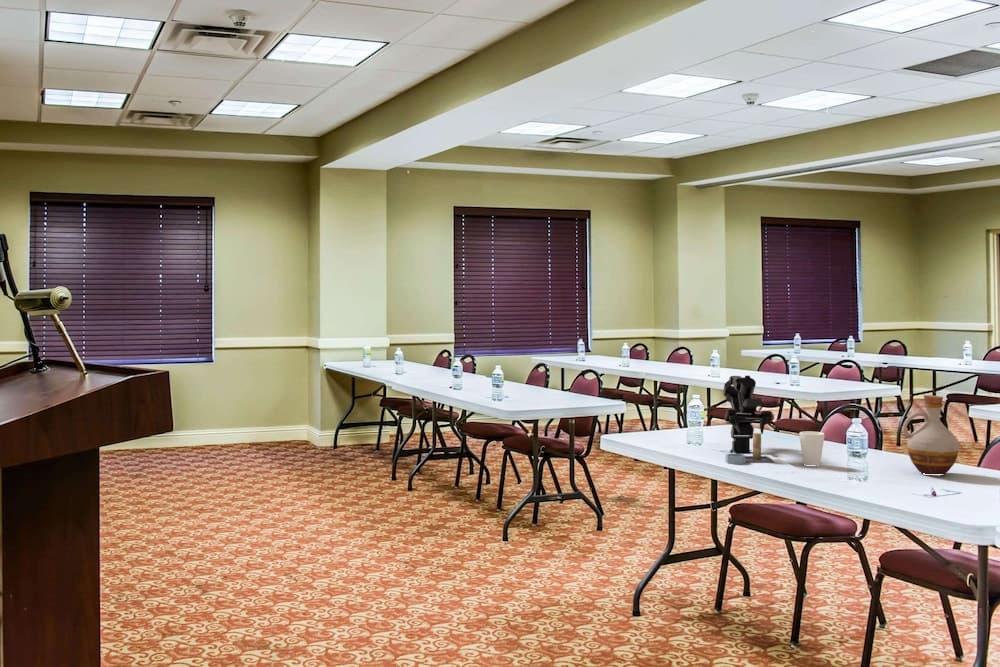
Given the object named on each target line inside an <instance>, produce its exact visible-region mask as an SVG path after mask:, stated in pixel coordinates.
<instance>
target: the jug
mask: <svg viewBox="0 0 1000 667" xmlns="http://www.w3.org/2000/svg"><path fill="white" fill-rule="evenodd" d="M943 399H944V396H940V395H931V394H923V400H924V402H923V407H924V408H925V412H924V411H915V412H914V413H911V414H910V415H909V416H908V417H907V418H906V419H905V420H904V422H903V424H902V432H903V435H904V436H905V437H907V438H908V439H907V442H906V447H907V448H906V450H907V453H908V457H909V459H910V461H911V463H912V464H913V466H914V467H915V468H916V470H917V471H919V473H920V472H921V473H925V474H945V475H946V473H948V472H949V471H950V469H951V468H952V467H954V465H955V463H956V460H957V459H958V456H959V452H960V443H959V441H958V438H957V437H956V435H955V434H954V433H952V431H951V430H949V428H948V427H946V426H945V425H944V424H943V422H941V410H942V408H943V406H944V404H943ZM919 416H922V417H924V422H923V423H922V424H921V425H920V426H919V427H917V428H916V429H915V430H914V431H913V432H911V433H908V431H907V430H908V425H909V423H910V422H911V421H912V420H913V419H915V418H916V417H919ZM921 473H920V474H921Z"/></svg>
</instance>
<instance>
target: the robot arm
mask: <svg viewBox="0 0 1000 667" xmlns="http://www.w3.org/2000/svg"><path fill="white" fill-rule="evenodd" d="M756 384H757V383H756V380H755V378H752V377H751V375H745V376H744V377H742V376H740V375H731V376H729V379H728V380H727V381H726V382H725V383H724V384H723V390H722V391H723V397H724V398H725V401H727V402H728V403H730V405H731V409H729V408H727V410H726V411H725V414H724V421H725V422H728V423H729V424H731V430H730V438H732V442H731V444H732V446H731V447H732V448H731V451H732V452H734V454H751V453H752V451H751V450H750V445H751V443H750V439H751V440H753V433H754V432H755V427H754V426H753V424H752V422H751V420H752V419H753V420H759V430H760V433H761V435H763V434H764V431H765V430H764V429H765V425H767V424H770V423H771V420H772V418H773V412H772V411H771V410H761V412H760V413H756V412H757V408H759V407H761V406H763V400H762V398H761V397H757V398H753V395H754V393H755V389H756Z"/></svg>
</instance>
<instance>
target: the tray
mask: <svg viewBox="0 0 1000 667" xmlns="http://www.w3.org/2000/svg"><path fill="white" fill-rule="evenodd" d="M747 463H749V464H757V463H759V464H760V463H762V464H764V463H765V464H766V463H771V464H773V463H775V461H774V459H772V458H771V457H769V456H768V455H763V456H762V455H761V460H753V455H752V456H751V455H749V456H748V455H747V456H746V455H745V464H747Z"/></svg>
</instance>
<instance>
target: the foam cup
mask: <svg viewBox="0 0 1000 667" xmlns="http://www.w3.org/2000/svg"><path fill="white" fill-rule="evenodd" d="M798 435H799V437H798V438H799V440H800V449H801V457H802V464H805V465H820V466H821V461H822V454H823V447H824V441H825V433H824V432H821V431H811V430H810V431H806V430H805V431H800V432H799V434H798Z"/></svg>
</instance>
